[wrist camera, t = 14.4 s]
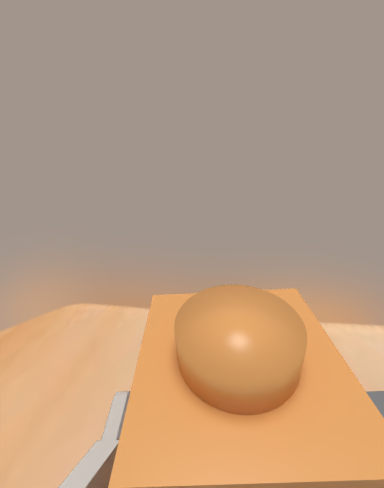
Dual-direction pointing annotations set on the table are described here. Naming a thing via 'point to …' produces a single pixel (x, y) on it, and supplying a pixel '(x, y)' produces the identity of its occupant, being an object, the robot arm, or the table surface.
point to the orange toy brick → (245, 399)
